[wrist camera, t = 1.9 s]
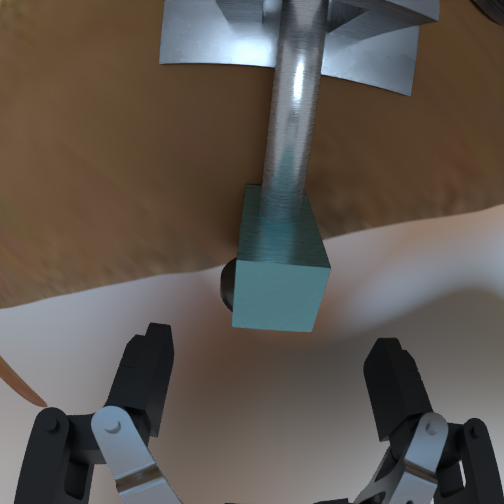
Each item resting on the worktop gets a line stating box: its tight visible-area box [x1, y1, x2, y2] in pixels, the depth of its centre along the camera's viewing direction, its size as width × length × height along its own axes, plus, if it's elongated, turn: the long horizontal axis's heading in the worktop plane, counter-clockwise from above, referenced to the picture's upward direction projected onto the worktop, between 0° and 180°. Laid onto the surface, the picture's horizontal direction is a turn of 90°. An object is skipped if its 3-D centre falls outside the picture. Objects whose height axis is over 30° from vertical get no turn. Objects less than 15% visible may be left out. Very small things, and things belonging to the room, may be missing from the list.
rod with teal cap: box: [220, 0, 331, 332], centre depth 13 cm, size 6×21×9 cm, turn 175°
